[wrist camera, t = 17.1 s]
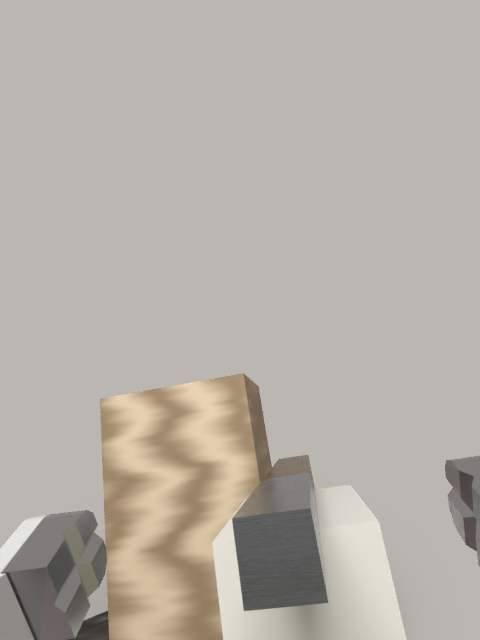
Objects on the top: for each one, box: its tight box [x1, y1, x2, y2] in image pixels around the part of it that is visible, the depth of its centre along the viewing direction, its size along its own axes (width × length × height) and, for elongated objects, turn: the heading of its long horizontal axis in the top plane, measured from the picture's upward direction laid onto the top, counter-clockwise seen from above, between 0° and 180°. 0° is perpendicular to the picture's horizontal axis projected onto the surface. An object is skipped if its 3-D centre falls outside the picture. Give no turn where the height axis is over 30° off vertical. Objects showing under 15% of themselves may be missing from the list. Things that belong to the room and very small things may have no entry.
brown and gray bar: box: [232, 455, 328, 611], centre depth 20 cm, size 2×20×2 cm, turn 170°
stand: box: [100, 374, 272, 640], centre depth 36 cm, size 14×12×26 cm
